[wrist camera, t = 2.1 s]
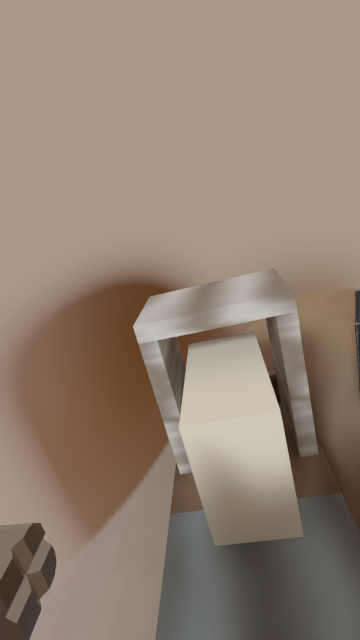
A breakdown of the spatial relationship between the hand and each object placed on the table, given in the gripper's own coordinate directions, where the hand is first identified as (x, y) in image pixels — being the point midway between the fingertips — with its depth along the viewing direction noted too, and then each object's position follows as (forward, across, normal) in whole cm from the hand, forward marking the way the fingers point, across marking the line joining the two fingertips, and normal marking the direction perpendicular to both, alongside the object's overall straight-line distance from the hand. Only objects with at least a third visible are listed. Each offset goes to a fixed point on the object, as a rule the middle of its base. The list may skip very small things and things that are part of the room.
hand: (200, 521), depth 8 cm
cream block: (+17, 0, +15) cm, 23 cm away
